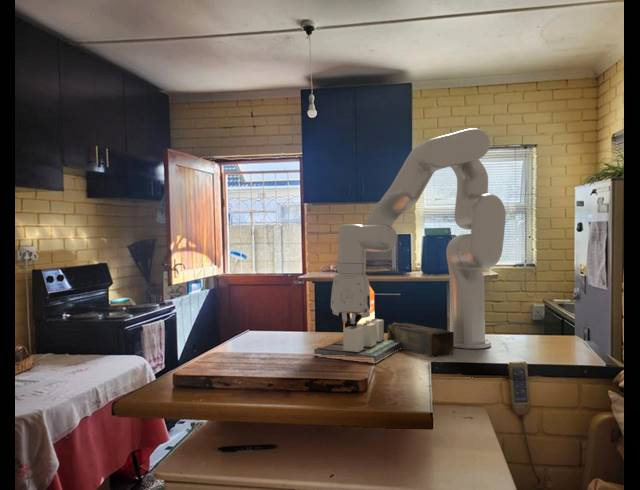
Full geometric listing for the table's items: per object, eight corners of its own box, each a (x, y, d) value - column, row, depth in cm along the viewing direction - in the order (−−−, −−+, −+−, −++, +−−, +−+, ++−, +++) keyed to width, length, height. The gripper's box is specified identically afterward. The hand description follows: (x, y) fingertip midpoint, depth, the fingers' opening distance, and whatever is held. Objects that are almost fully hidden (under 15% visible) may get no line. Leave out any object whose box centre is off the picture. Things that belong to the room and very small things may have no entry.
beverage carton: (408, 342, 137) (407, 320, 137) (455, 355, 121) (455, 330, 121) (386, 345, 134) (386, 322, 134) (432, 359, 117) (432, 333, 117)
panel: (346, 343, 136) (346, 335, 136) (401, 348, 128) (401, 340, 128) (314, 356, 119) (314, 347, 119) (375, 364, 111) (375, 354, 111)
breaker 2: (370, 338, 131) (370, 317, 131) (383, 339, 129) (383, 318, 129) (365, 340, 128) (365, 319, 128) (379, 341, 126) (378, 320, 126)
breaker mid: (362, 342, 125) (362, 321, 125) (376, 344, 123) (376, 322, 123) (357, 345, 122) (356, 323, 122) (371, 346, 120) (371, 324, 120)
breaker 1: (349, 347, 119) (349, 325, 119) (363, 349, 117) (363, 326, 117) (343, 350, 116) (343, 327, 116) (358, 352, 114) (357, 328, 114)
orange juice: (375, 338, 142) (374, 273, 142) (369, 344, 134) (368, 275, 134) (350, 337, 145) (349, 273, 145) (343, 343, 136) (342, 275, 136)
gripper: (320, 269, 125) (319, 337, 125) (371, 271, 118) (370, 343, 117) (333, 268, 132) (332, 333, 131) (382, 270, 124) (381, 338, 124)
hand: (350, 337), depth 124 cm, fingers closed
